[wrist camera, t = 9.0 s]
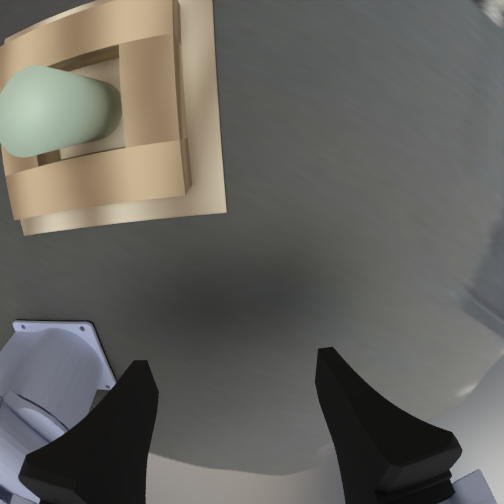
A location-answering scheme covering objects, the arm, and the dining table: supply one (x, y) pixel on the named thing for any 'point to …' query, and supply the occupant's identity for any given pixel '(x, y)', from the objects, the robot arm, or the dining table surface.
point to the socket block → (125, 116)
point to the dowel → (55, 111)
